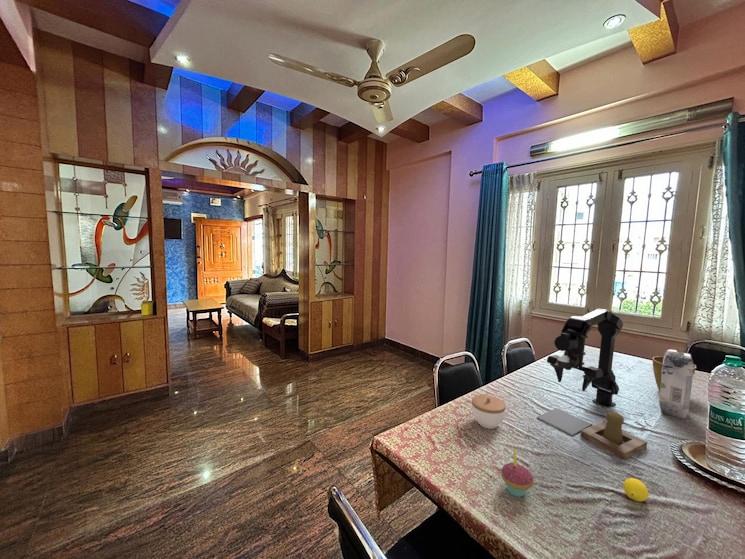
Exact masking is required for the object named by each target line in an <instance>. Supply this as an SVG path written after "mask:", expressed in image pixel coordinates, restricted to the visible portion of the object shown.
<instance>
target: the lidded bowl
mask: <svg viewBox="0 0 745 559" xmlns="http://www.w3.org/2000/svg"><path fill="white" fill-rule="evenodd" d="M506 406H507V405H506V403H505V402H504V400H503V399H501V398H498V397H496V396H493V395H489V394H477V395H474V396H473V397H472V398H471V411H472V415H473V417H474V420H475V421H476V422H477V423H478V425H479V424H480V425H481V427H482V428H484V429H487V428H488V430H489V429H490V430H491V429H493V430H494V429H496V428H497V427H498V426H499V425H501V424H502V423H503V420H504V418H505V414H506V409H507V408H506ZM480 425H479V426H480Z"/></svg>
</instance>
